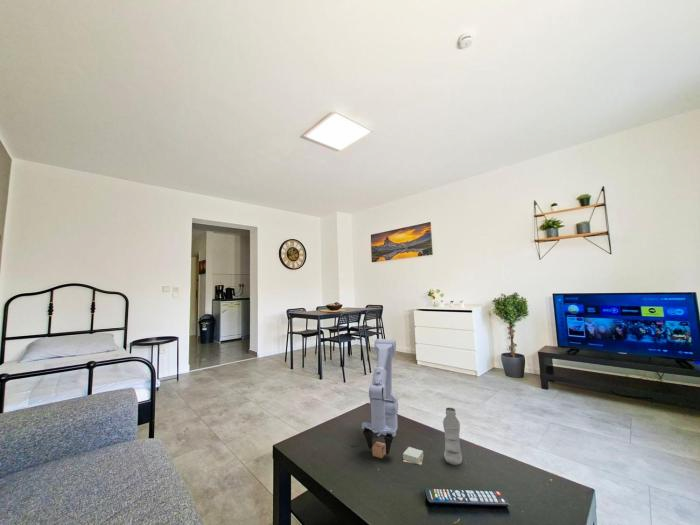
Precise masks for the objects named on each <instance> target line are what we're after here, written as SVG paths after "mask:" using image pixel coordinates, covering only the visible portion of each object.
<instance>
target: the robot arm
mask: <svg viewBox="0 0 700 525" xmlns="http://www.w3.org/2000/svg"><path fill="white" fill-rule="evenodd" d="M374 351H375V354H376V355H377V362H376V363H377V364H376V368H375V369H374V370H373V374H372V379H371V380H372V381H371V385H369V388H368V398H369V404H370V416H371V417H370V419H371V420H370V421H371V422H365V421H364V422H362V423H361V429H362V430H363V431H362V433H363V436H364V437H365V439H366V443H367V447H368V450H371V449H373V447H372V446H373V445H374V443H373V433H375V434H376V436H377V437H380V436H381V435H383V436H384V437H383V438H384V444H386V454H385V455H389V454H390V452H391V451H390V450H391V445H392V443H393V442H392V441H393V439H394V437H396V435H397V430H398V429H399V424H398V420H399V419H398V414H399V403H398V397H397V395H395V394H394V392H393V391H392V390H393V389H392V383H393V382H392V379H393V377H392V375H393V374H392V371H393V370H392V362H393V358H394V357H396V355H397V341H396V340H395V339H394V338H393V339H389V338H375V340H374ZM377 433H378V434H377Z"/></svg>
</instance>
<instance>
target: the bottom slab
mask: <svg viewBox="0 0 700 525" xmlns="http://www.w3.org/2000/svg"><path fill="white" fill-rule="evenodd" d="M402 460H403V462H405V463H410V464H415V465H420V466H421V465H422V464H423V460H424V457H423V458H422V459H421V460H420V462H419V463H418V464H417V463H414V462H411V461H408V460H405V459H402Z"/></svg>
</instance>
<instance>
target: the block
mask: <svg viewBox="0 0 700 525" xmlns="http://www.w3.org/2000/svg"><path fill="white" fill-rule="evenodd" d="M385 455H387V454H386V444H385V442H384V443H383V442H380V441H376V442H375V443H373V446H372V457H376V458H379V459H383V458H384V456H385Z"/></svg>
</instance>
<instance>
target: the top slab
mask: <svg viewBox="0 0 700 525" xmlns="http://www.w3.org/2000/svg"><path fill="white" fill-rule="evenodd" d="M402 458H403V459H402V460H404V459H405V460H408V461H411V462H414V463H417V464H416V465H419V464H418V463H419V462H420V460H421V459H422V458H423V459H424V451H423V450H421V449H417V448H414V447H411V446H408V447H407V448H406V449H405V451H403V453H402ZM414 463H413V464H414Z"/></svg>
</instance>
